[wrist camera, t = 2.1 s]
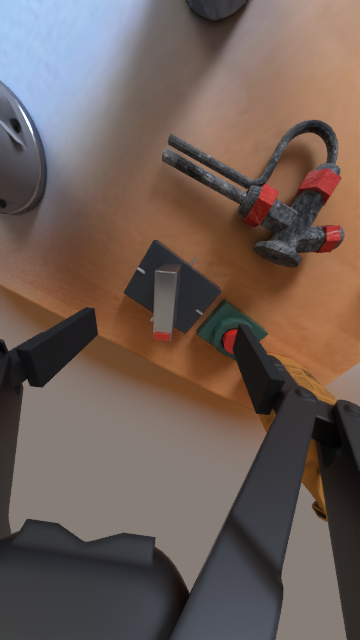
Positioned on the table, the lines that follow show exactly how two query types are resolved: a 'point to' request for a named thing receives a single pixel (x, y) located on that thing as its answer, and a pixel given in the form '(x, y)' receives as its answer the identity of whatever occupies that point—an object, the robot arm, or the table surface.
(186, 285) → the base
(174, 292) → the tap lever
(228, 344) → the button
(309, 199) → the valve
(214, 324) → the drain button box
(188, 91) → the table surface
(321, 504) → the coffee package
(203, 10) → the moka pot
